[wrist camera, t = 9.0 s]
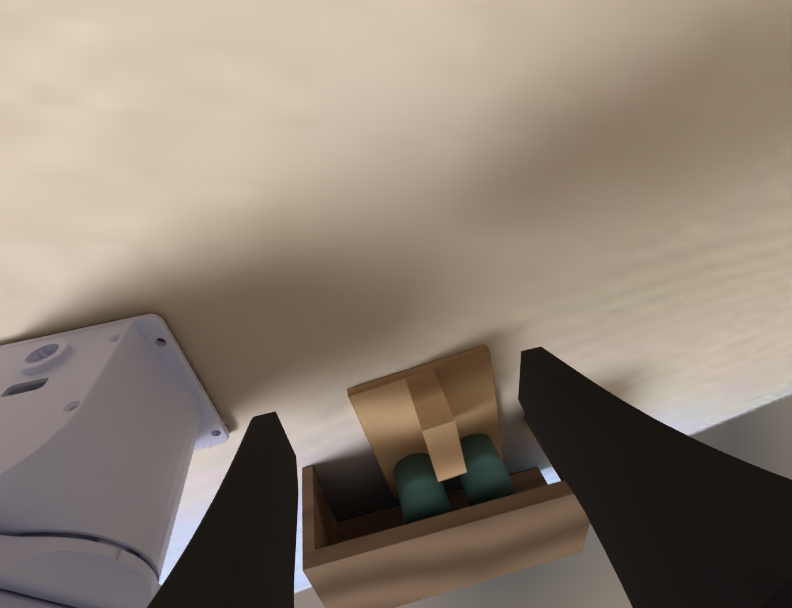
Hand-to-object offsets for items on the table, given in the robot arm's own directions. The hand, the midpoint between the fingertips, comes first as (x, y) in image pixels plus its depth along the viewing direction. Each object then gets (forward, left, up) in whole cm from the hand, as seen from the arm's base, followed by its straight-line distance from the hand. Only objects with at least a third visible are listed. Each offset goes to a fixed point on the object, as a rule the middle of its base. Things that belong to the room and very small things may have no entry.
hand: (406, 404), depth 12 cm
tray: (+14, +2, -10) cm, 18 cm away
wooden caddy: (+19, +2, -10) cm, 22 cm away
